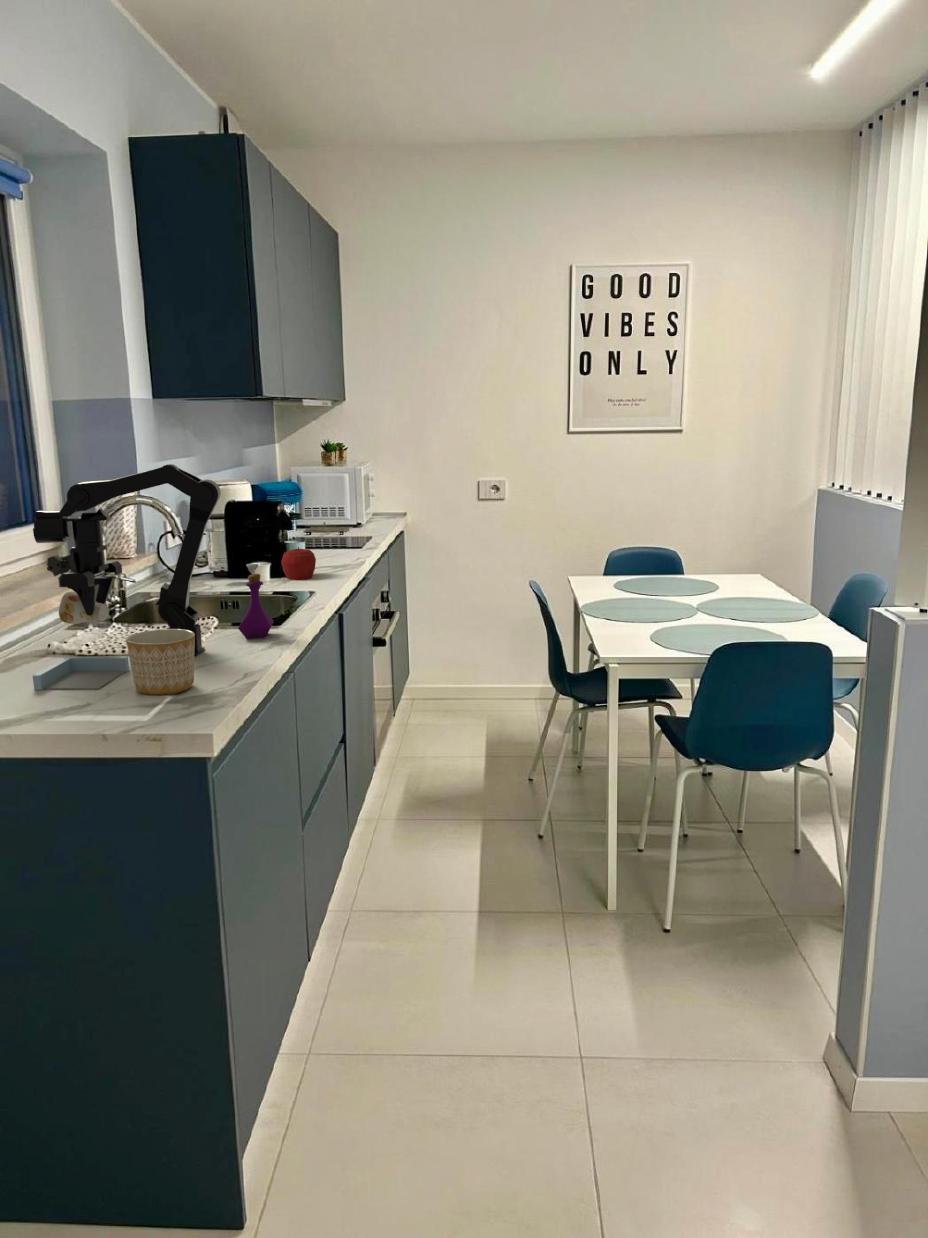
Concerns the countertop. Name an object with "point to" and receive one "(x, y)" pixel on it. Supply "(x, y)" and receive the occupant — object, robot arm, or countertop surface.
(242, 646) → the countertop surface
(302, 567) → the apple
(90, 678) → the mat
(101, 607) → the mug
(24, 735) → the countertop surface
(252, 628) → the perfume bottle
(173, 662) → the planter
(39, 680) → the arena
